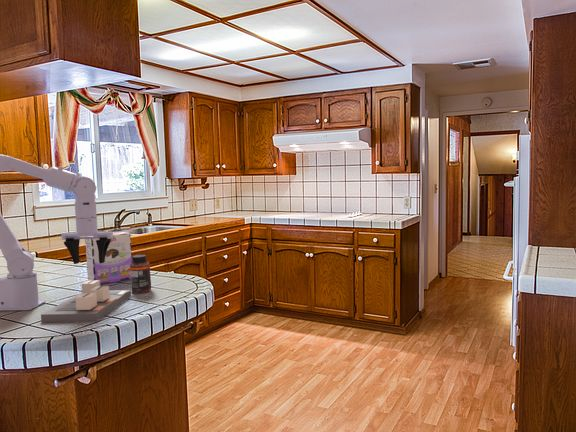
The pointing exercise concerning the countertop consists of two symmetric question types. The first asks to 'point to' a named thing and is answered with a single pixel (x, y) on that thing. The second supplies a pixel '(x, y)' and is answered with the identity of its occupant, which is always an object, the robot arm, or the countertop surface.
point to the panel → (70, 314)
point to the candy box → (110, 259)
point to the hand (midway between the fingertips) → (89, 263)
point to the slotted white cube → (86, 301)
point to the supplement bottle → (140, 274)
